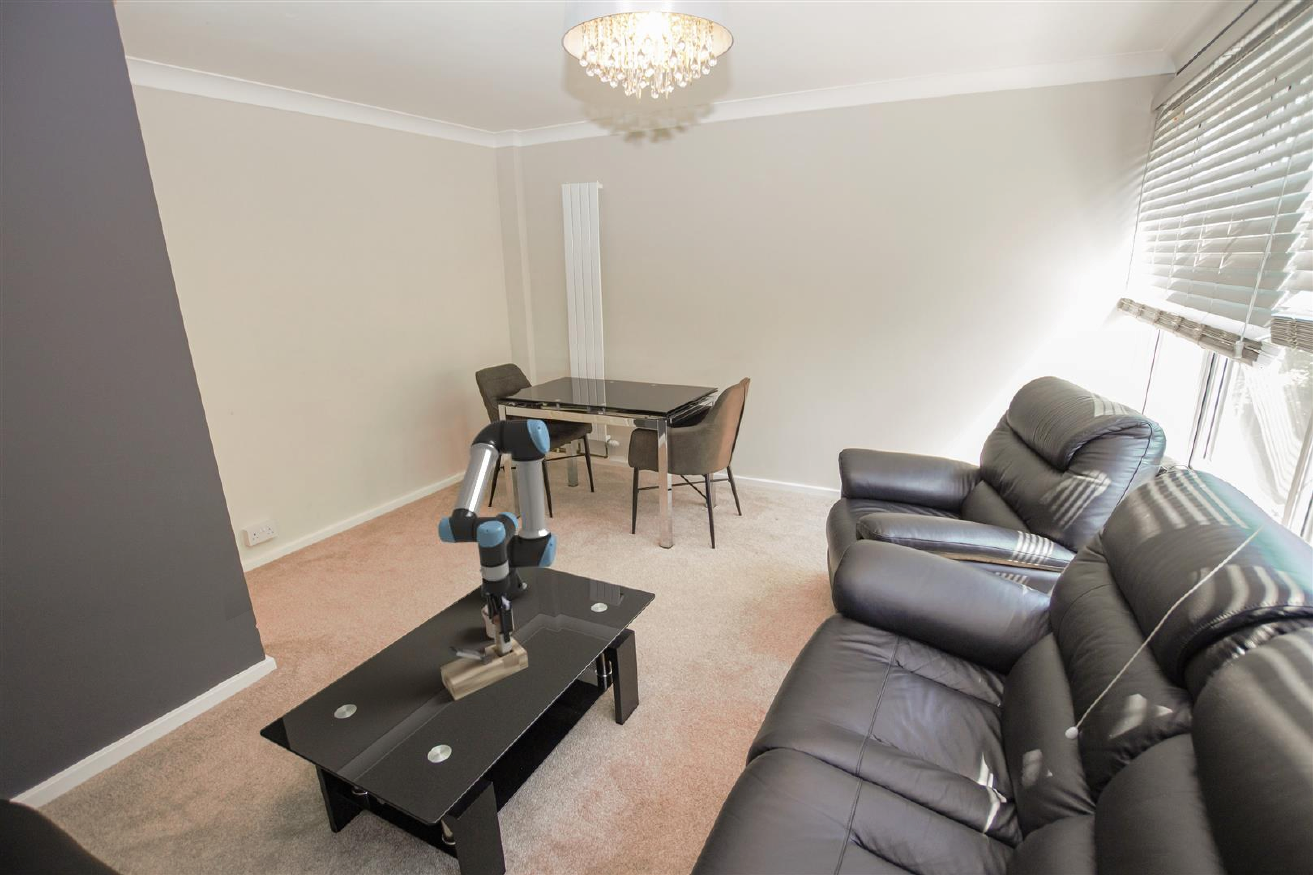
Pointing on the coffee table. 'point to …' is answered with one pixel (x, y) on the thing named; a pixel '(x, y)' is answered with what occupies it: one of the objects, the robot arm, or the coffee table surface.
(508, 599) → the robot arm
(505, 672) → the block
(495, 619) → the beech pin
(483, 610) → the teacup with lid
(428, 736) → the coffee table surface
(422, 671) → the coffee table surface
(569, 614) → the coffee table surface
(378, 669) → the coffee table surface
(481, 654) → the lever
